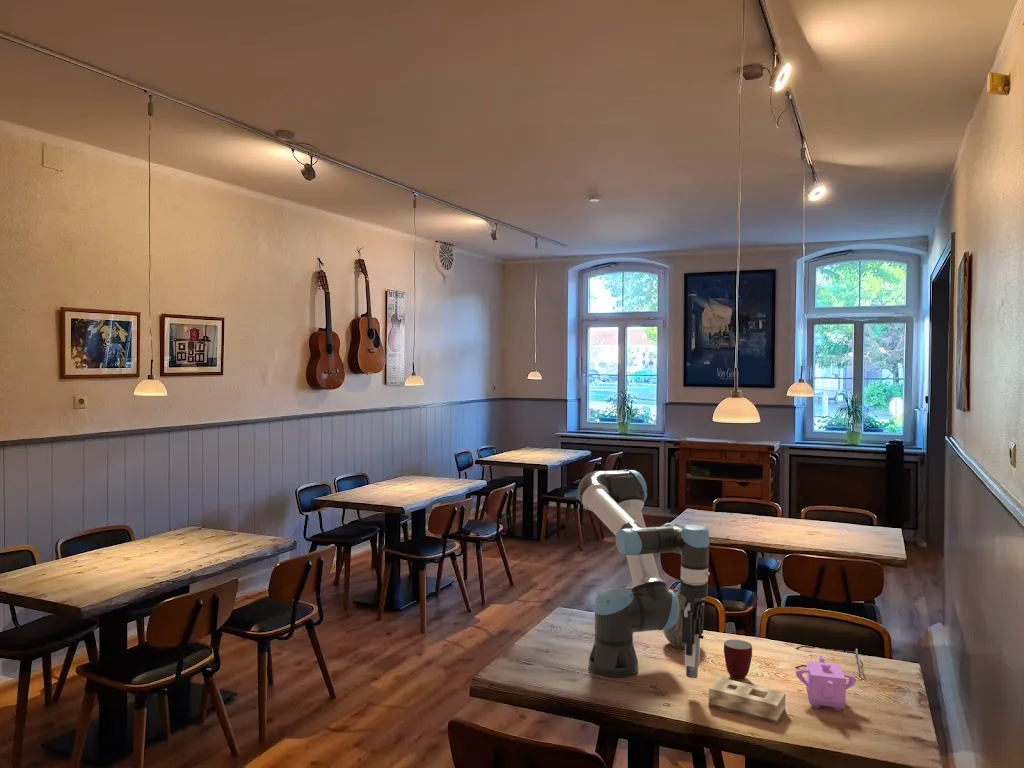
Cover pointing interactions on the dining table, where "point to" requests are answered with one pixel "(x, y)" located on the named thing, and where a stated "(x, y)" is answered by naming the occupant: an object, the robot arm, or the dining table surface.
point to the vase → (677, 626)
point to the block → (747, 700)
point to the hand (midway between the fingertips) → (692, 663)
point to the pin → (693, 671)
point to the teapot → (826, 684)
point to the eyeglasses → (838, 650)
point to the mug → (737, 658)
